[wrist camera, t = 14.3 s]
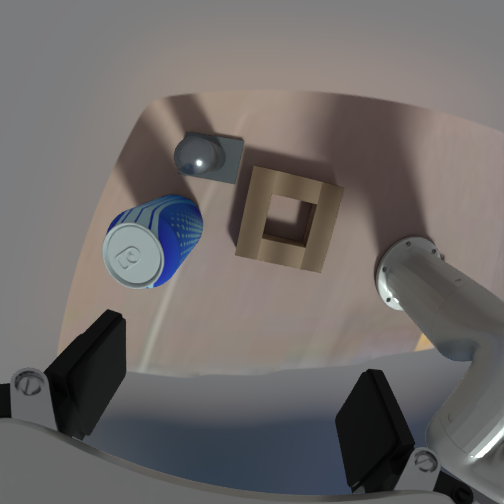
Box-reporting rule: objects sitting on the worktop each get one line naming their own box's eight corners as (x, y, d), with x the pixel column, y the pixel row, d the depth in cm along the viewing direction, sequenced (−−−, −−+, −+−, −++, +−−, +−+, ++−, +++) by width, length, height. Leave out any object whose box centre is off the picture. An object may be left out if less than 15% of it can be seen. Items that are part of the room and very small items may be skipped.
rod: (228, 145, 36) (215, 138, 27) (222, 174, 38) (208, 177, 28) (199, 141, 36) (177, 134, 27) (194, 169, 38) (171, 171, 28)
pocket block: (338, 186, 38) (344, 187, 35) (316, 265, 42) (320, 273, 39) (254, 165, 38) (253, 165, 35) (236, 248, 41) (234, 255, 39)
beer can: (152, 189, 39) (95, 206, 24) (208, 198, 39) (177, 219, 24) (147, 245, 42) (95, 287, 26) (200, 255, 42) (169, 305, 27)
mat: (244, 141, 37) (244, 141, 36) (235, 184, 39) (234, 184, 38) (187, 132, 37) (186, 131, 36) (179, 173, 38) (178, 173, 38)
